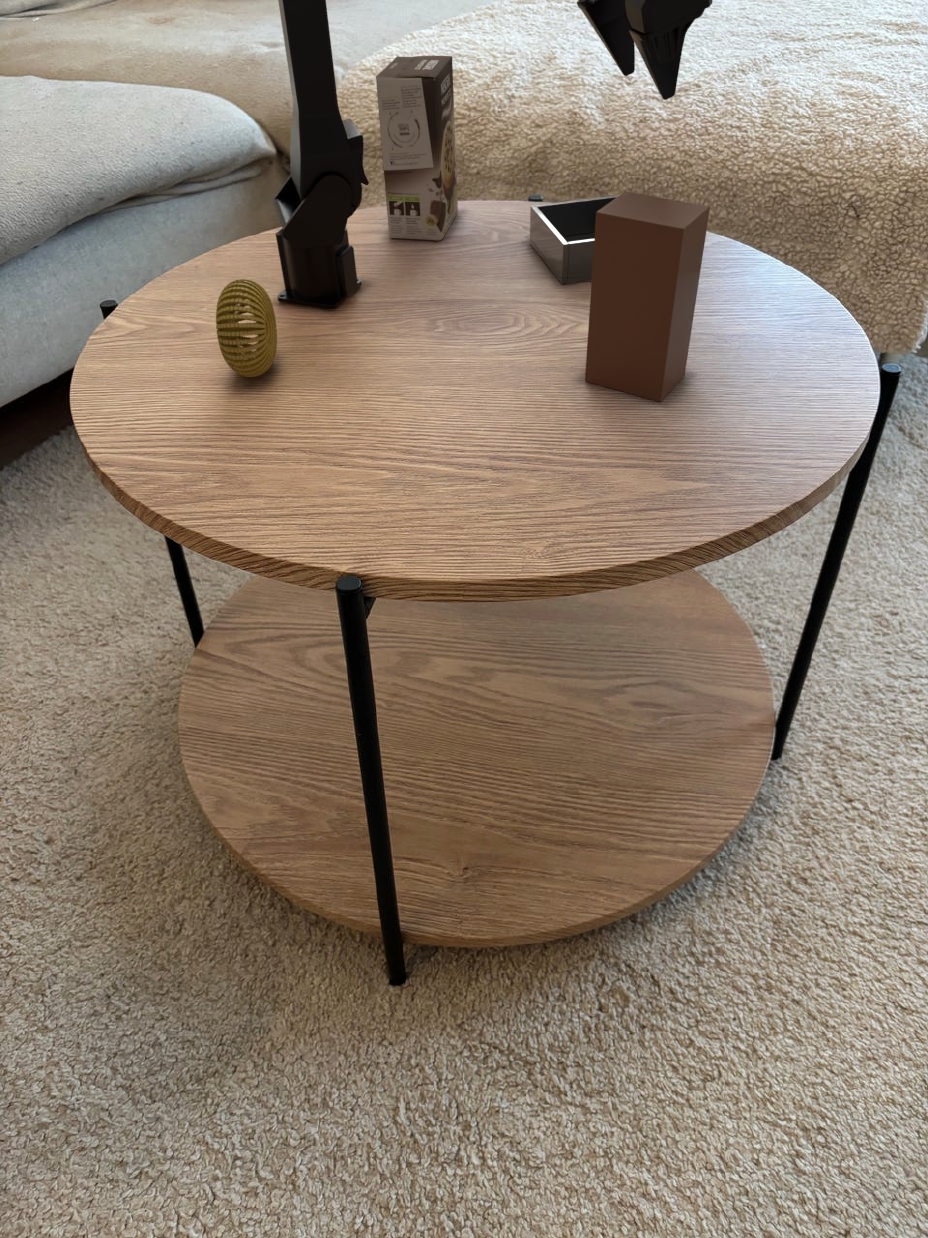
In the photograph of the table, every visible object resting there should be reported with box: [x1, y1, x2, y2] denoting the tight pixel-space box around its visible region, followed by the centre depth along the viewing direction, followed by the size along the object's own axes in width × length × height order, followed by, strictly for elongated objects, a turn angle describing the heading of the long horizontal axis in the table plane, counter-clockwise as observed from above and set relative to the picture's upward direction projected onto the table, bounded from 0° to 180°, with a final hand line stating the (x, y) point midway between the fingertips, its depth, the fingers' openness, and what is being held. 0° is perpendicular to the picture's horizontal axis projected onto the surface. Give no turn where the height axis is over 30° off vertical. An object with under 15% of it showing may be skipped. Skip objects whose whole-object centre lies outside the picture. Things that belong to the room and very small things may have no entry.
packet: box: [584, 191, 711, 403], centre depth 72 cm, size 7×5×14 cm
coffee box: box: [375, 55, 459, 242], centre depth 98 cm, size 9×6×16 cm
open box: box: [529, 194, 621, 285], centre depth 95 cm, size 11×11×4 cm
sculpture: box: [215, 278, 278, 378], centre depth 77 cm, size 8×4×8 cm, turn 179°
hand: (648, 85), depth 87 cm, fingers open, 9 cm apart
